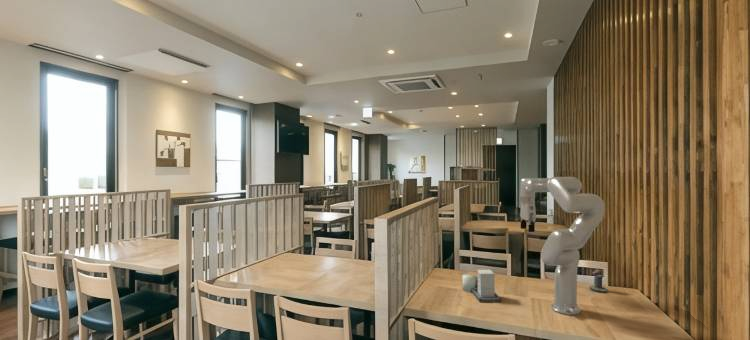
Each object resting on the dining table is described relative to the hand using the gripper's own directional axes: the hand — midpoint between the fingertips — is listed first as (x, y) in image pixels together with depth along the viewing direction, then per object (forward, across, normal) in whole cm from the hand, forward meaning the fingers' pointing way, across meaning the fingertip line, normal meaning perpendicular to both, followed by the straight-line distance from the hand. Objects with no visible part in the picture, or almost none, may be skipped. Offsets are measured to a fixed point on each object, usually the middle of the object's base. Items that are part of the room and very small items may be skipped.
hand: (527, 230), depth 204 cm
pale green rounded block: (+33, 0, +34) cm, 47 cm away
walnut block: (+33, +4, +28) cm, 43 cm away
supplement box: (+32, -11, +28) cm, 44 cm away
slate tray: (+33, -12, +28) cm, 45 cm away
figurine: (+34, -4, -38) cm, 51 cm away
